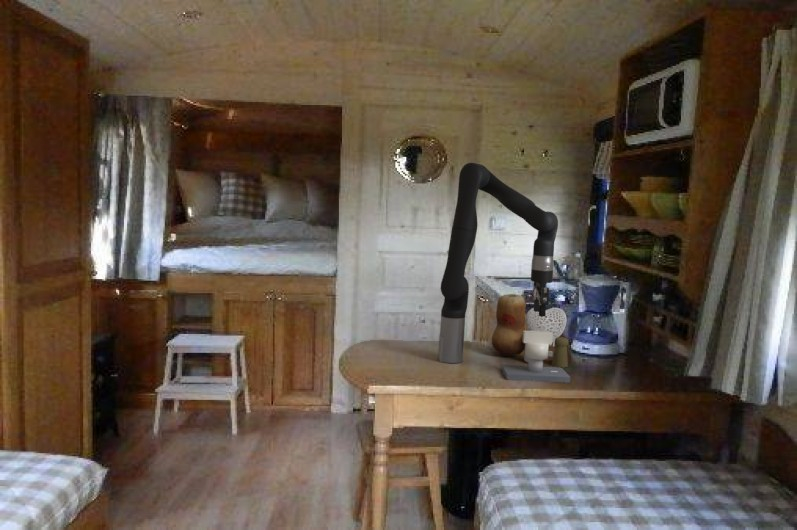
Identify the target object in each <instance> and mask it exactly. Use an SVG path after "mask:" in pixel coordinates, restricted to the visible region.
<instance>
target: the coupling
mask: <svg viewBox="0 0 797 530" xmlns="http://www.w3.org/2000/svg"><path fill="white" fill-rule="evenodd" d="M553 333H554V332H553ZM553 333H552V332H551V331H549V332H544V331H528V330H525V331H523V343H526V346H525V350H524V352H525V357H527V358H531V359H537V360H543V361H545V360H548V357H551V358H552V357H553V356H554V352H553V351H552V350H549V347H550V344H551V345H553V342H552V339H553V336H554V335H553Z"/></svg>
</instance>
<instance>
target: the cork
mask: <svg viewBox="0 0 797 530" xmlns="http://www.w3.org/2000/svg"><path fill="white" fill-rule="evenodd" d="M568 346H569V339H568V338H566V337H564V336H559V337H557V338H556V339H555V343H554V347H555V348H554V352H553V358H552V362H551V366H552V365H553V366H552V367H554V366H556V367H563V368H562V369H565V368H564V367H567V368H568V367H569V365H568V364H569V363H568Z"/></svg>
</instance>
